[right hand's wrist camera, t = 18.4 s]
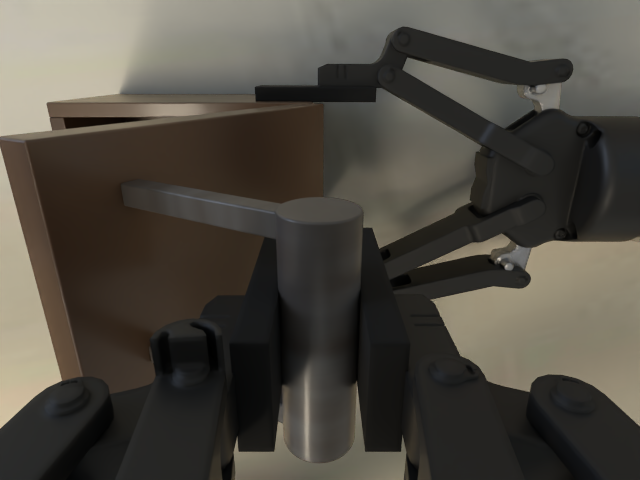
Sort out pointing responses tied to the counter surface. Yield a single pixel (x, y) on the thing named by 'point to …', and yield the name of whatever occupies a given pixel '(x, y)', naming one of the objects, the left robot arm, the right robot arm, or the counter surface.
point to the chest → (147, 107)
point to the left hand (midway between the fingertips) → (262, 179)
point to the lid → (195, 248)
